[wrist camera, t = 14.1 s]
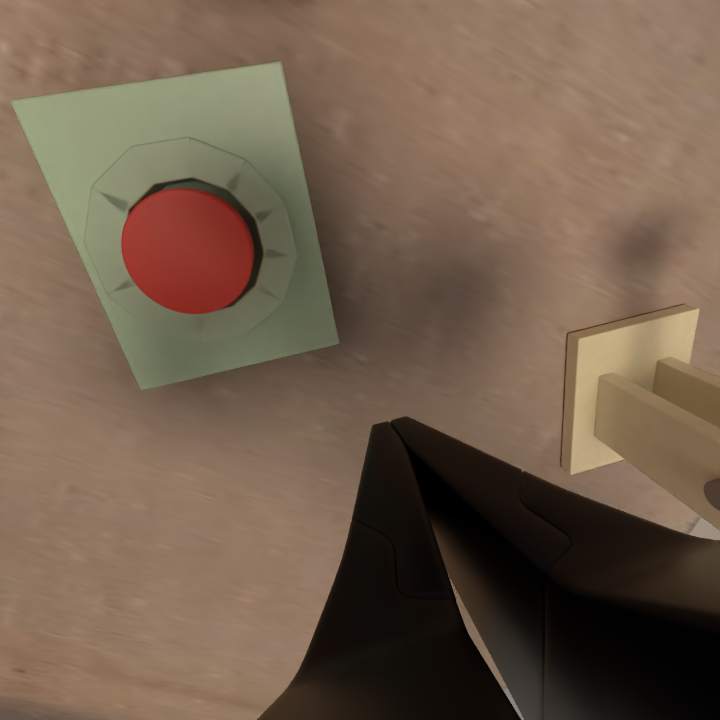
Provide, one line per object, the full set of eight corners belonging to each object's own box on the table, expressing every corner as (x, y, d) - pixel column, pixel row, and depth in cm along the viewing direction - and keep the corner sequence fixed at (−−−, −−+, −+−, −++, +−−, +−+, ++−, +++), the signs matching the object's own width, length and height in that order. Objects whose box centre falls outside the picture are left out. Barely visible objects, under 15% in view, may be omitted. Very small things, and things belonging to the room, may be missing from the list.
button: (266, 289, 16) (266, 300, 14) (161, 312, 15) (149, 326, 14) (236, 178, 14) (232, 177, 12) (117, 200, 14) (97, 201, 12)
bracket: (567, 333, 24) (774, 431, 14) (684, 303, 25) (955, 376, 15) (560, 466, 28) (717, 614, 18) (661, 436, 29) (862, 561, 19)
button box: (332, 329, 21) (346, 359, 17) (153, 371, 20) (127, 412, 16) (279, 75, 16) (283, 42, 13) (42, 112, 15) (-29, 86, 12)
